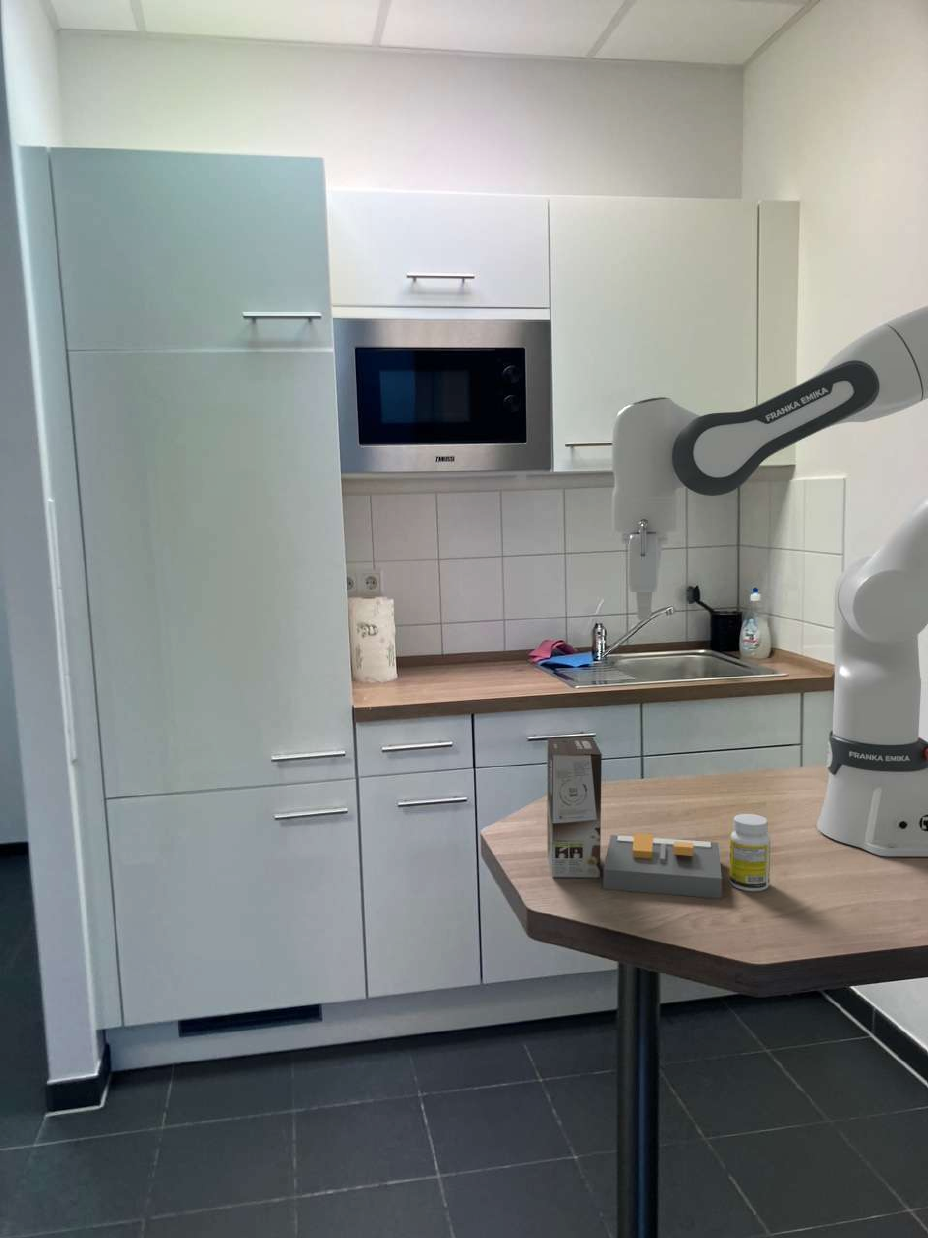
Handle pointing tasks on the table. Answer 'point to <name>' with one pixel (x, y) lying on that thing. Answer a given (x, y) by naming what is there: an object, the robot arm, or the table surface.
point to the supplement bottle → (750, 853)
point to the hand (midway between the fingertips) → (644, 619)
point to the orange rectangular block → (683, 848)
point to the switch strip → (664, 868)
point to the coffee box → (574, 806)
